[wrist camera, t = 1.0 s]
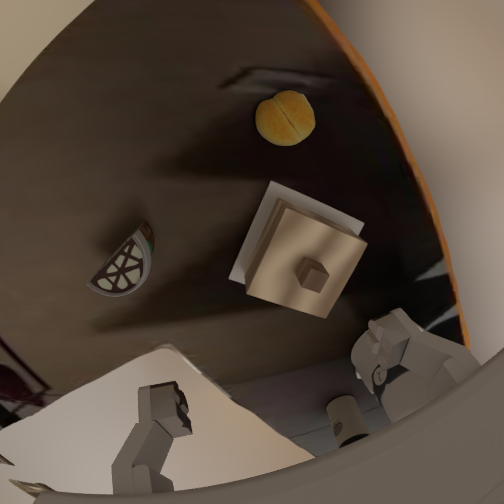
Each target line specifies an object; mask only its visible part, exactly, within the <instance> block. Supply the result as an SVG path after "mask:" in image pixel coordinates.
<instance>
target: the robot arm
mask: <svg viewBox="0 0 504 504" xmlns="http://www.w3.org/2000/svg"><path fill="white" fill-rule="evenodd" d="M368 327H369V328H370V329H369V330H367V331H366V332H365V333H364V334H363V335H362V336H361V337H360V338H359V339H358V340H357V342H356V343H355V345H354V347H353V349H352V352H351V360H352V363H353V365H354V366H355V368H356V369H355V375H356V376H357V378H359V379H362V380H363V381H364V383H365V385H366V386H367V388H368V389H369V391H370V392H371V393H372V394H375V397H376V399H377V401H378V402H379V403H380V405H381V406H383V407H384V409H385V411H386V413H387V415H388V417H389V419H390V421H391V423H392V424H391V425H389V426H387V427H385V428H383V429H381V430H379V431H377V432H375V433H373V434H371V435H369V436H367V437H364V438H362V439H360V440H358V441H356V442H353V443H351V444H349V445H346V446H344V447H342V448H339V449H337V450H334V451H332V452H329V453H327V454H324V455H322V456H319V457H316V458H314V459H311V460H308V461H305V462H302V463H299V464H296V465H293V466H290V467H287V468H283V469H280V470H277V471H273V472H270V473H266V474H263V475H259V476H255V477H251V478H247V479H243V480H238V481H233V482H229V483H224V484H219V485H213V486H208V487H202V488H195V489H188V490H180V491H174V487H173V482H172V481H171V480H170V479H168V478H166V477H165V476H163V475H161V474H160V472H161V469H162V467H163V464H164V462H165V459H166V457H167V454H168V452H169V449H170V447H171V444H172V442H173V438H176V437H181V436H186V435H191V434H193V433H192V428H191V421H190V419H189V418H188V417H187V413H188V411H189V409H188V404H187V401H186V398H185V395H184V393H183V392H182V391H181V390H179V388H178V384H177V383H176V381H171V382H166V383H161V384H155V385H149V386H144V387H139V390H138V410H139V423H136V424H135V426H134V428H133V429H132V431H131V433H130V435H129V436H128V438H127V440H126V441H125V443H124V445H123V447H122V449H121V450H120V452H119V454H118V455H117V457H116V459H115V461H114V462H113V464H112V483H113V495H107V494H81V493H68V492H58V491H42V492H41V493H40V494H39V496H38V497H37V498H36V500H35V501H34V503H33V504H504V348H503V349H502V350H500V351H499V352H498V353H497V354H496V355H495V356H493V357H492V358H491V359H490V360H488V361H487V362H486V363H485V364H483V365H482V366H481V365H480V363H479V362H478V361H477V360H476V359H475V357H474V356H473V355H472V354H471V352H470V351H469V350H468V349H467V348H466V347H465V346H462V345H460V344H457V343H454V342H452V341H449V340H447V339H444V338H441V337H439V336H436V335H434V334H431V333H429V332H428V331H426V330H425V329H424V328H422V327H421V326H419V325H418V324H417V323H415V322H414V321H412V320H411V319H410V318H409V317H408V315H407V314H406V313H405V312H404V311H403V310H402V309H401V308H397V309H395V310H393V311H391V312H387V313H385V314H383V315H381V316H378V317H376V318H374V319H371V320H370V321H369V323H368Z"/></svg>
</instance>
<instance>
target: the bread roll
mask: <svg viewBox="0 0 504 504" xmlns="http://www.w3.org/2000/svg"><path fill="white" fill-rule="evenodd" d="M256 127H257V129H258V131H259V133H260V134H261V135H262V136H263V137H264V138H265V139H266V140H268V141H270V142H271V143H273V144H276V145H281V146H290V145H294V144H297V143H299V142H301V141H302V140H303V139H305V138H306V137H307V136H308V135H309V134H310V133H311V132H312V130H313V129H314V127H315V118H314V113H313V109H312V108H311V106H310V104H309V102H308V101H307V99H306V97H305V96H304V95H303V94H300V93H298V92H296V91H291V90H289V91H282V92H280V93H278V94H276V95H275V96H274V97H273V98H272V99H270V100H265V101H263V102H261V103H260V105H259V106H258V108H257V111H256Z"/></svg>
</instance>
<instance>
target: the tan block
mask: <svg viewBox="0 0 504 504" xmlns="http://www.w3.org/2000/svg"><path fill="white" fill-rule="evenodd" d="M366 246H367V243H366V242H365V241H364V240H363V239H361V238H360V237H359V236H358V235H357V234H356V233H354V232H353V231H352V230H351V229H349V228H347V227H345V226H342V225H340V224H338V223H336V222H334V221H331V220H329V219H327V218H325V217H323V216H320V215H318V214H316V213H313V212H311V211H309V210H307V209H304V208H302V207H300V206H297V205H295V204H293V203H290V202H288V201H286V200H283V199H281V198H277V200H276V202H275V204H274V207H273V209H272V211H271V213H270V216H269V218H268V220H267V222H266V224H265V227H264V229H263V231H262V233H261V236H260V238H259V240H258V242H257V244H256V247H255V249H254V251H253V253H252V256H251V258H250V260H249V262H248V264H247V267H246V269H245V271H244V278H245V286H246V294H249V295H252V296H255V297H258V298H261V299H264V300H267V301H270V302H273V303H276V304H280V305H283V306H286V307H289V308H292V309H296V310H299V311H302V312H305V313H309V314H312V315H315V316H318V317H322V318H325V319H326V317H327V315H328V314H329V312H330V310H331V309H332V307H333V305H334V304H335V302H336V300H337V299H338V297H339V295H340V293H341V292H342V290H343V288H344V286H345V285H346V283H347V281H348V279H349V278H350V276H351V274H352V272H353V270H354V269H355V267H356V265H357V263H358V261H359V259H360V258H361V256H362V254H363V252H364V250H365V248H366Z"/></svg>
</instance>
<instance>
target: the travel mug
mask: <svg viewBox="0 0 504 504" xmlns="http://www.w3.org/2000/svg"><path fill="white" fill-rule="evenodd" d="M326 410H327V413H328V416H329V419H330V422H331V425H332V428H333V431H334V434H335V437H336V440H337V444H338V447H339V448H342V447H344V446H346V445H349V444H351V443H353V442H356V441H358V440H360V439H362V438H364V437H367V436H369V435H370V433H369V430H368V428H367V425H366V423H365V421H364V418H363V416H362V414H361V412H360V409H359V407H358V405H357V402H356V400H355V398H354V397H353V396H349V395H346V396H341V397H338V398H336V399H334V400H333V401H331V402H330V403H329V404H328V406H327V408H326Z"/></svg>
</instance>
